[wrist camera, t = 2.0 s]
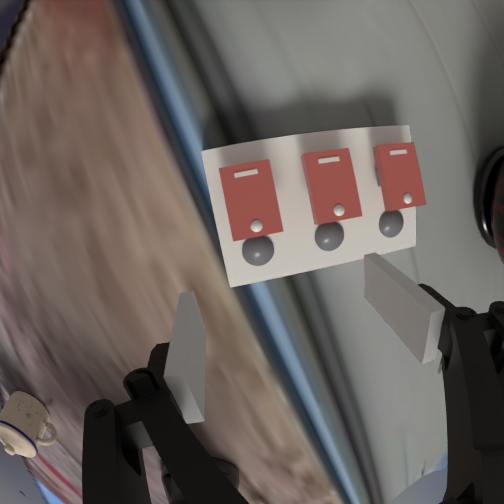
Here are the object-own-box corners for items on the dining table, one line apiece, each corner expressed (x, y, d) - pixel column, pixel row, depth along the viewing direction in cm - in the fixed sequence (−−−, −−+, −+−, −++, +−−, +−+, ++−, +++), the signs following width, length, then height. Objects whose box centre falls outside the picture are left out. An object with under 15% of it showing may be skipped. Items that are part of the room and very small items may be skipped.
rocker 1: (233, 239, 29) (233, 241, 27) (219, 172, 28) (218, 168, 26) (279, 230, 29) (283, 231, 27) (265, 164, 29) (269, 158, 26)
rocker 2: (310, 224, 29) (317, 224, 27) (297, 159, 29) (303, 153, 26) (352, 216, 30) (362, 216, 27) (339, 153, 29) (348, 147, 26)
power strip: (229, 275, 35) (230, 288, 32) (202, 150, 30) (201, 151, 27) (402, 238, 36) (416, 246, 33) (395, 125, 31) (410, 125, 28)
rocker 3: (378, 211, 30) (391, 210, 27) (366, 150, 29) (377, 144, 26) (412, 205, 30) (426, 204, 27) (401, 147, 29) (413, 141, 27)
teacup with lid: (19, 415, 41) (-1, 457, 30) (5, 383, 38) (-22, 426, 27) (70, 432, 42) (53, 479, 31) (58, 400, 40) (35, 451, 29)
